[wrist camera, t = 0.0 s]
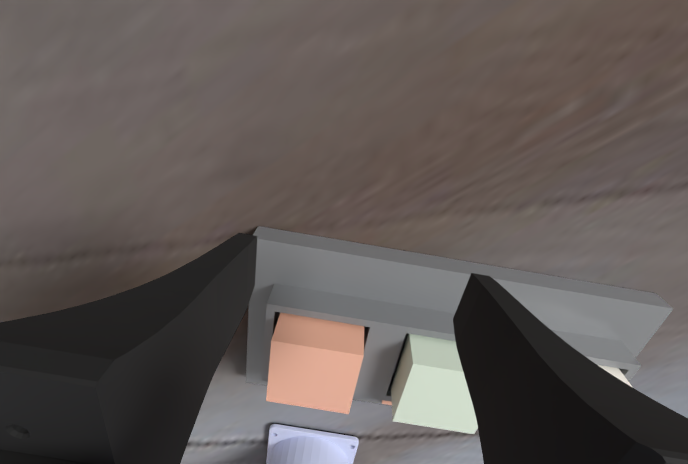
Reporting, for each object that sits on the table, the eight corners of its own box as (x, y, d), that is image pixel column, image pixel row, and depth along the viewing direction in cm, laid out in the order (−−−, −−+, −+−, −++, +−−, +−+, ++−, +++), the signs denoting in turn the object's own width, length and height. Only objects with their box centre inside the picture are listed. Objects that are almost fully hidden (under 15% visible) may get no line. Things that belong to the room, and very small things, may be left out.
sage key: (465, 399, 25) (474, 434, 23) (390, 387, 25) (392, 421, 23) (491, 345, 23) (504, 378, 20) (409, 331, 23) (413, 363, 20)
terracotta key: (350, 380, 25) (348, 414, 23) (275, 368, 25) (266, 400, 23) (364, 324, 23) (363, 355, 20) (281, 310, 22) (271, 340, 20)
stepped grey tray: (566, 418, 30) (588, 462, 27) (251, 367, 29) (237, 405, 26) (656, 293, 24) (699, 332, 21) (258, 226, 23) (240, 255, 20)
